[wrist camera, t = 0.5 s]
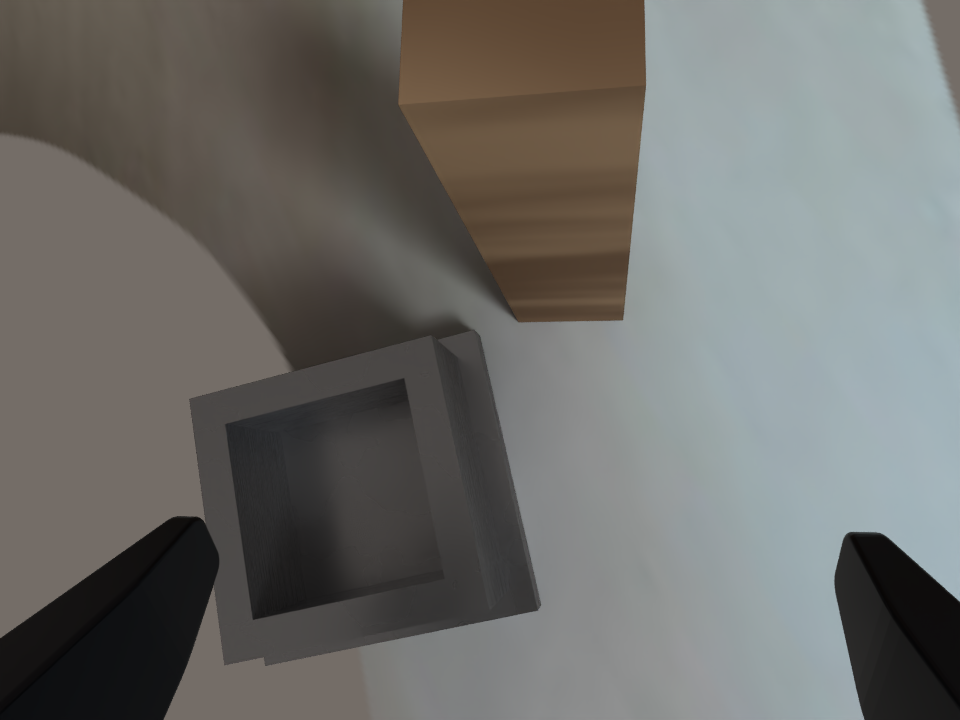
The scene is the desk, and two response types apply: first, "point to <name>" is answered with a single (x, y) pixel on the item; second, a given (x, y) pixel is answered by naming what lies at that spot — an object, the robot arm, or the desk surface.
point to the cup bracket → (361, 502)
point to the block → (534, 139)
